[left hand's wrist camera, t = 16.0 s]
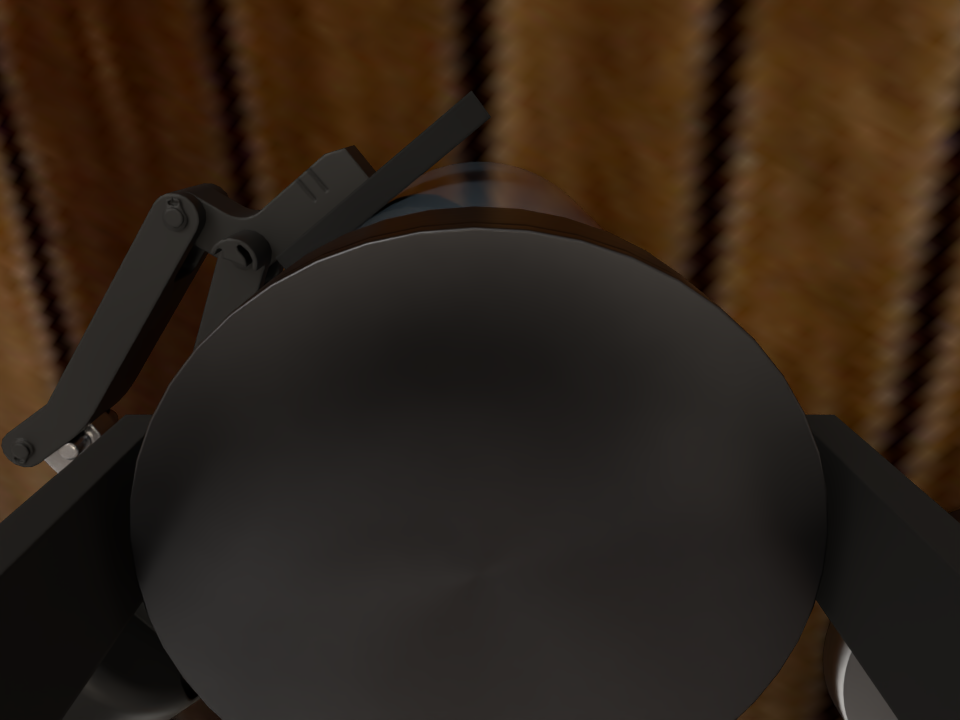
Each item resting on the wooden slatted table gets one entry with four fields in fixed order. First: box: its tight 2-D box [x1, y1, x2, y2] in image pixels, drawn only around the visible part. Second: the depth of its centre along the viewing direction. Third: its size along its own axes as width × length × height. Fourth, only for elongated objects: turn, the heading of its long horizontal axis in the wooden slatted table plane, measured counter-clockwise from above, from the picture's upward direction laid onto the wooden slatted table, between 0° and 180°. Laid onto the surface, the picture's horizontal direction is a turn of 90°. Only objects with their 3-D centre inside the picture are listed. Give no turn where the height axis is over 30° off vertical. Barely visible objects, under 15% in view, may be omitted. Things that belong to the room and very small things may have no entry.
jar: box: [356, 162, 603, 230], centre depth 18 cm, size 10×10×16 cm
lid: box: [130, 206, 828, 720], centre depth 11 cm, size 11×11×2 cm
